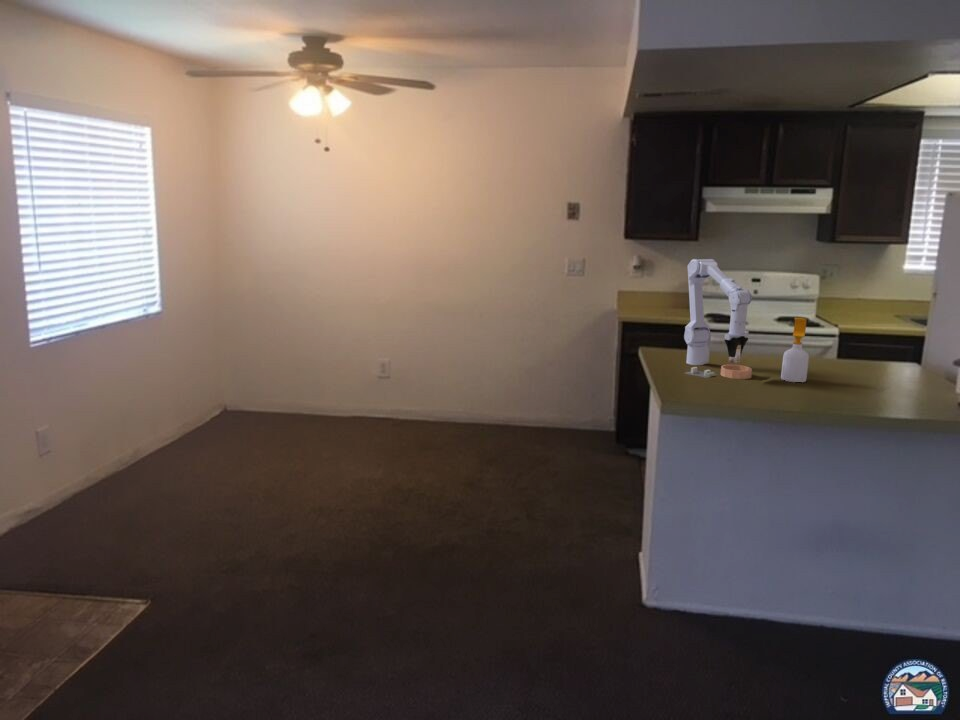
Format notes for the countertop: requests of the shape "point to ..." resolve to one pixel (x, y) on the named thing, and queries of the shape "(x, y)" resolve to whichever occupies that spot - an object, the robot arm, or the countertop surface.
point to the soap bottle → (796, 356)
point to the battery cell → (737, 356)
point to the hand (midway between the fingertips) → (734, 356)
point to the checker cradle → (701, 373)
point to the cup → (736, 371)
